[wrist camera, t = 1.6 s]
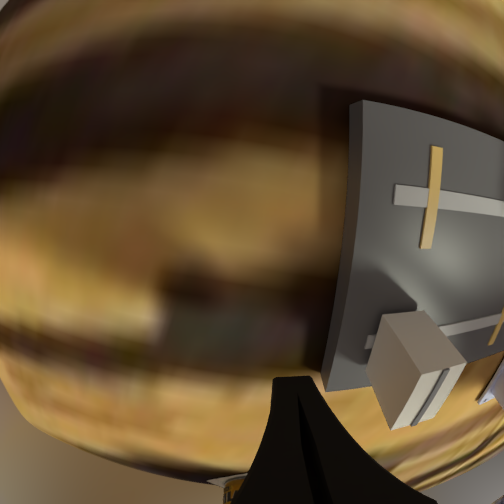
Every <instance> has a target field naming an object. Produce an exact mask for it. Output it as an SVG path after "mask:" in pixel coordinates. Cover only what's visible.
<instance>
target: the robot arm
mask: <svg viewBox="0 0 504 504" xmlns="http://www.w3.org/2000/svg"><path fill="white" fill-rule="evenodd" d="M494 397H495V398H496V400H497V401H498V403H499V404H500V405H501V407H502V408H503V410H504V359H503V361H502V363H501V364H500V366H499V368H498V370H497V371H496V373H495V375H494V377H493V378H492V380H491V381H490V383H489V385H488V386H487V388H486V389H485V391H484V392H483V394H482V395H481V397H480V398H479V400H478V402H477V403H478V404H479V405H480V404H482V403H484V402H486V401H489V400H491V399H493V398H494ZM270 409H271V410H270V414H269V418H268V422H267V426H266V429H265V432H264V435H263V438H262V441H261V444H260V447H259V449H258V452H257V454H256V456H255V459H254V461H253V463H252V465H251V467H250V470H249V471H248V473H247V475H246V477H245V479H244V481H243V483H242V485H241V487H240V488H239V490H238V492H237V493H236V495H235V497H234V498H233V500H232V501H231V503H230V504H438V503H437V501H435V500H434V499H431V498H429V497H427V496H425V495H423V494H422V493H420V492H418V491H416V490H414V489H413V488H411V487H410V486H408V485H406V484H405V483H403V482H402V481H400V480H399V479H398V478H396V477H395V476H394V475H392V474H391V473H390V472H388V471H387V470H386V469H384V468H383V467H382V466H381V465H379V464H378V463H377V462H376V461H375V460H374V459H373V458H372V457H371V456H370V455H369V454H368V453H366V452H365V451H364V450H363V449H362V448H361V446H360V445H359V444H358V443H357V442H356V441H355V440H354V439H353V438H352V436H351V435H350V434H349V433H348V432H347V430H346V429H345V428H344V427H343V425H342V424H341V423H340V422H339V420H338V419H337V417H336V416H335V415H334V413H333V412H332V410H331V409H330V408H329V406H328V405H327V403H326V401H325V400H324V398H323V397H322V395H321V393H320V392H319V390H318V388H317V387H316V385H315V383H314V381H313V379H312V377H310V376H294V377H276V378H274V379H273V383H272V396H271V408H270ZM492 504H504V495H503V496H502V497H500V498H499V499H497V500H496V501H495V502H493V503H492Z"/></svg>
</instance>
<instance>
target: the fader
mask: <svg viewBox="0 0 504 504" xmlns="http://www.w3.org/2000/svg"><path fill="white" fill-rule="evenodd" d="M466 363H467V361H466V360H465V359H464V358H463V356H462V355H461V354H460V353H459V351H458V350H457V349H456V348H455V346H454V345H453V344H452V343H451V342H450V340H449V339H448V338H447V337H446V336H445V334H444V333H443V332H442V331H441V330H440V328H439V327H438V326H437V325H436V324H435V323H434V321H433V320H432V319H431V318H430V317H429V316H428V315H427V313H426V312H425V311H424V310H422V311H413V312H403V313H393V314H382V317H381V321H380V325H379V328H378V332H377V335H376V338H375V342H374V345H373V348H372V351H371V355H370V358H369V361H368V364H367V367H366V370H365V371H366V373H367V376H368V378H369V380H370V383H371V385H372V387H373V390H374V392H375V394H376V397H377V399H378V401H379V404H380V406H381V409H382V411H383V413H384V416H385V418H386V421H387V423H388V426H389V428H390V430H394V429H397V428H401V427H405V426H408V425H411V426H415V425H417V424H418V423H419V422H422V421H425V420H428V419H431V418H434V416H435V415H436V413H437V412H438V410H439V409H440V407H441V406H442V404H443V403H444V401H445V400H446V398H447V397H448V395H449V393H450V392H451V390H452V388H453V387H454V385H455V383H456V382H457V380H458V378H459V376H460V374H461V373H462V371H463V369H464V367H465V365H466Z"/></svg>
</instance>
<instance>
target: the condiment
mask: <svg viewBox="0 0 504 504" xmlns="http://www.w3.org/2000/svg"><path fill="white" fill-rule="evenodd" d="M246 475H247V473H246V474H239V475H234V476H229V477H223V478H218V479H212V480H208V482H210V483H212V484H215V485H217V486H221V487H223V488H224V496H223V504H230V503H231V501H232V500H233V498H234V497H235V495H236V493H237V492H238V490H239V488H240V487H241V485H242V483H243V481H244V479H245V477H246Z"/></svg>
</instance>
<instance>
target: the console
mask: <svg viewBox="0 0 504 504" xmlns="http://www.w3.org/2000/svg"><path fill="white" fill-rule="evenodd" d="M422 310H424V311H425V312H426V313H427V315H428V316H429V317H430V318H431V319H432V320H433V321H434V323H435V324H436V325H437V326H438V327H439V328H440V330H441V331H442V332H443V333H444V334H445V336H446V337H447V338H448V339H449V340H450V342H451V343H452V344H453V345H454V346H455V348H456V349H457V350H458V351H459V353H460V354H461V355H462V356H463V358H464V359H465V360H466V361H467V363H470V362H473V361H476V360H479V359H482V358H485V357H487V356H490V355H493V354H496V353H498V352H501V351H503V350H504V141H502V140H499V139H497V138H495V137H492V136H490V135H487V134H485V133H482V132H480V131H477V130H475V129H472V128H469V127H466V126H464V125H461V124H458V123H455V122H452V121H449V120H445V119H442V118H439V117H436V116H432V115H429V114H425V113H421V112H418V111H414V110H410V109H406V108H401V107H397V106H392V105H388V104H383V103H378V102H372V101H367V100H361V101H358V102H356V103H353V104H351V105H349V161H348V181H347V196H346V209H345V220H344V231H343V240H342V249H341V257H340V265H339V273H338V280H337V287H336V294H335V300H334V306H333V312H332V318H331V324H330V329H329V334H328V340H327V345H326V350H325V355H324V359H323V364H322V369H321V373H320V374H321V378H322V381H323V385H324V389H325V392H331V391H340V390H348V389H355V388H362V387H369V386H372V385H371V383H370V380H369V378H368V376H367V373H366V371H365V370H366V367H367V364H368V361H369V358H370V355H371V351H372V348H373V345H374V342H375V338H376V335H377V332H378V328H379V325H380V321H381V317H382V314H393V313H403V312H413V311H422ZM467 363H466V364H467Z"/></svg>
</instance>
